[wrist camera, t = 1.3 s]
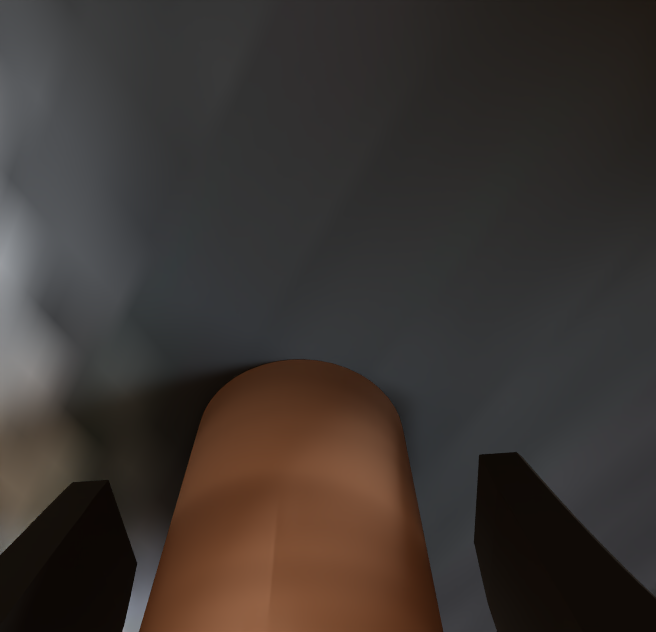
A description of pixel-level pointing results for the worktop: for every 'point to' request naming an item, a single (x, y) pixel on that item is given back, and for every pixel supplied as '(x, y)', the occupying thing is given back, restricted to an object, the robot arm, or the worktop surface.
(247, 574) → the peg
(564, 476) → the worktop surface
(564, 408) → the worktop surface
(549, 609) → the robot arm
